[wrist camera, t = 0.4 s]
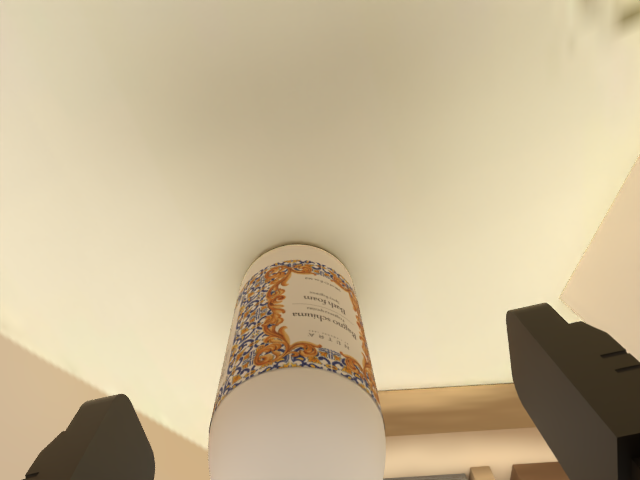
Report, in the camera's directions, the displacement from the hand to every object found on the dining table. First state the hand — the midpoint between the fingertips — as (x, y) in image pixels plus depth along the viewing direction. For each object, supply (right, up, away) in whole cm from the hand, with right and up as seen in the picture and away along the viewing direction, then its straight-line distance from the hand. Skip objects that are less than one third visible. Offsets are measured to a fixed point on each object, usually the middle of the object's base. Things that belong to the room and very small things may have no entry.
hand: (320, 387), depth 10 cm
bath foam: (-1, 0, +20) cm, 20 cm away
